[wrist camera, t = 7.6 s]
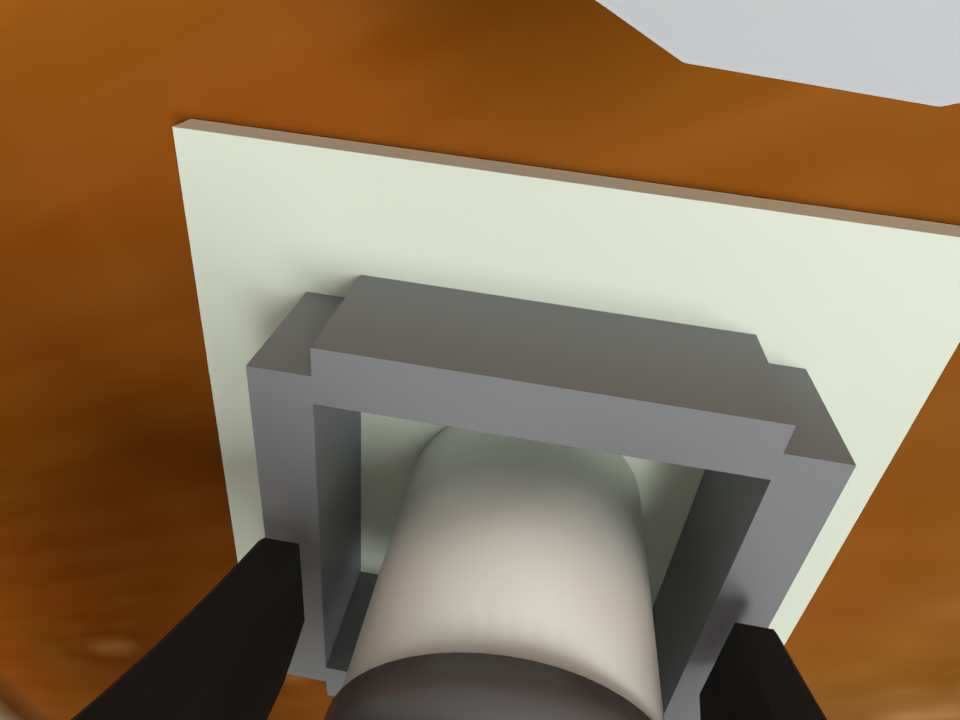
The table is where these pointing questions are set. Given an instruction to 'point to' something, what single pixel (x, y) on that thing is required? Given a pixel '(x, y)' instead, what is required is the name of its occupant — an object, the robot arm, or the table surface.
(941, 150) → the table surface
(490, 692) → the lens cylinder
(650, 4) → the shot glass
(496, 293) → the mount board
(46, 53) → the table surface
